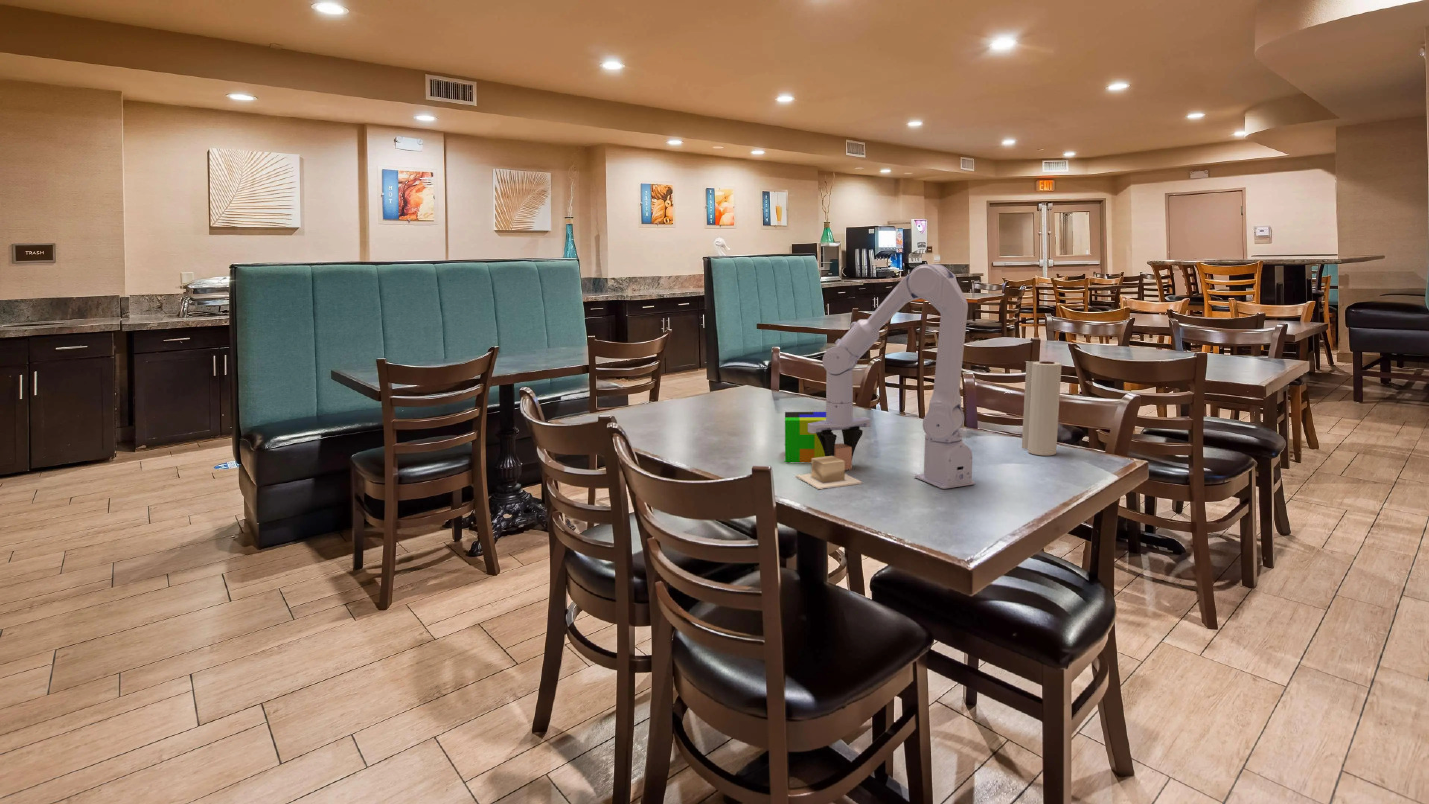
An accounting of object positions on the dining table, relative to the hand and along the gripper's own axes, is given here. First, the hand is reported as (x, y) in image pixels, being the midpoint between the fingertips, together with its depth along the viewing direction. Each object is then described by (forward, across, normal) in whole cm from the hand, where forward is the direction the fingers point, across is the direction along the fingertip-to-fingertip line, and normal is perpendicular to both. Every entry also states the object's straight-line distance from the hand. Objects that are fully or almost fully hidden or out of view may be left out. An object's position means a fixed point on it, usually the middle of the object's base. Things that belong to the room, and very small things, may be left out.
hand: (839, 461), depth 162 cm
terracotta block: (+1, 0, 0) cm, 1 cm away
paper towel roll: (+2, -49, +8) cm, 50 cm away
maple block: (+1, +7, +7) cm, 10 cm away
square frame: (+1, +7, +8) cm, 10 cm away
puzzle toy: (+2, +2, -12) cm, 12 cm away
